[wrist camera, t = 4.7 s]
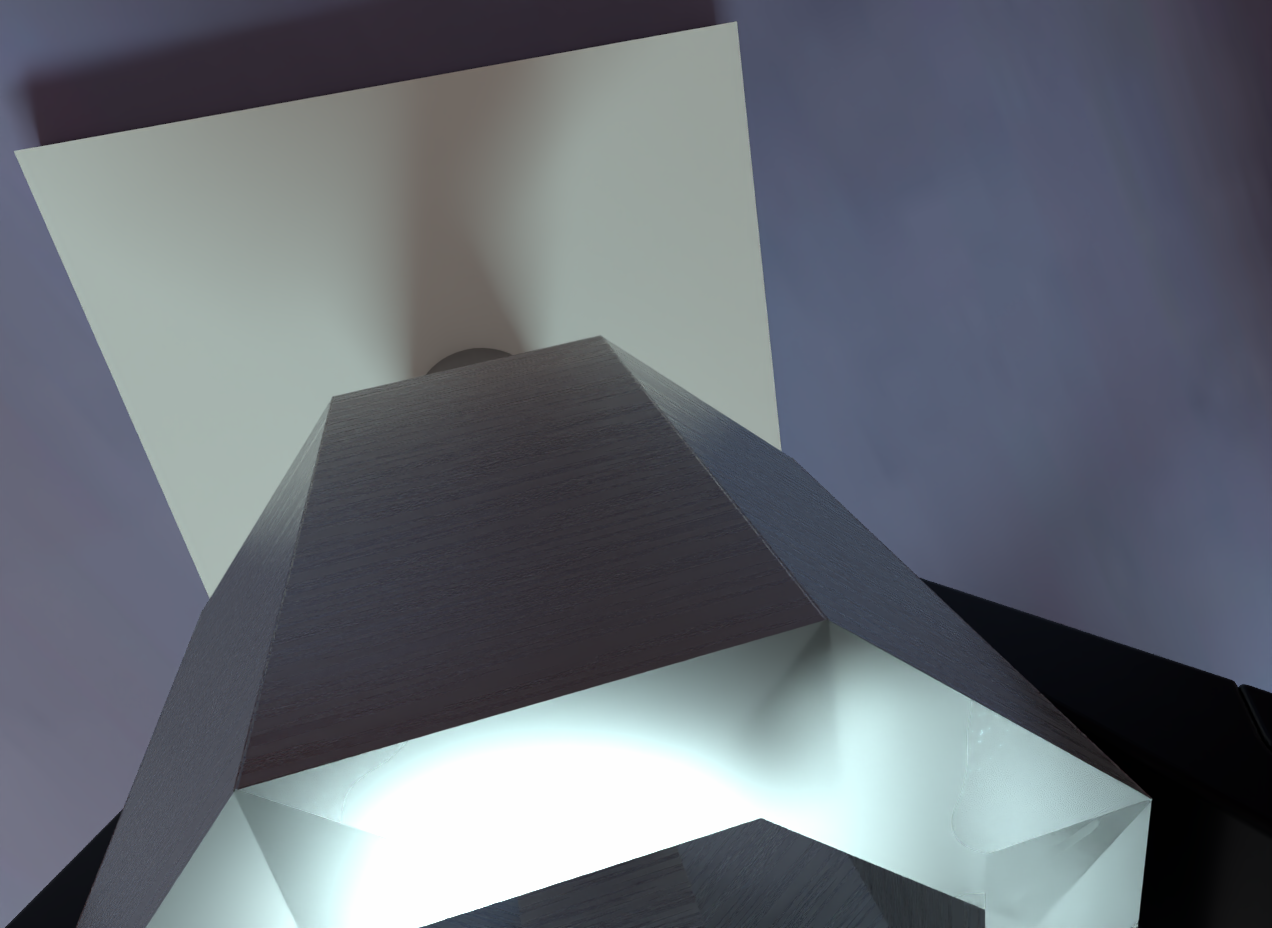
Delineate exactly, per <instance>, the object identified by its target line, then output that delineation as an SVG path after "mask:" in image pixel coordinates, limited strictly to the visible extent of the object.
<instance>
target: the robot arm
mask: <svg viewBox="0 0 1272 928" xmlns="http://www.w3.org/2000/svg"><path fill="white" fill-rule="evenodd" d="M920 579H921V580H922V581H923V582H924V583H925V584H926V585H927V586H928V587H929V588H930V589H931V590H932V591H934V592H935V593H936V594H937V595H938V596H939V597H940V598H941V599H942V600H943V601H944V602H945V603H946V604H947V605H948V606H949V607H950V608H951V609H953V610H954V611H955V612H956V613H957V614H958V615H959V616H960V617H961V618H962V619H963V620H964V621H965V622H966V623H967V624H968V625H969V626H970V627H972V628H973V629H974V630H975V631H976V632H977V633H978V634H979V635H980V636H981V637H982V638H983V639H984V640H985V641H986V642H987V643H988V644H989V645H991V646H992V647H993V648H994V649H995V650H996V651H997V652H998V653H999V654H1000V655H1001V656H1002V657H1003V658H1004V659H1005V660H1006V661H1007V662H1008V663H1010V664H1011V665H1012V666H1013V667H1014V668H1015V669H1016V670H1017V671H1018V672H1019V673H1020V674H1021V675H1022V676H1023V677H1024V678H1025V679H1026V680H1027V681H1029V682H1030V683H1031V684H1032V685H1033V686H1034V687H1035V688H1036V689H1037V690H1038V691H1039V692H1040V693H1041V694H1042V695H1043V696H1044V697H1045V698H1046V699H1048V700H1049V701H1050V702H1051V703H1052V704H1053V705H1054V706H1055V707H1056V708H1057V709H1058V710H1059V711H1060V712H1061V713H1062V714H1063V715H1064V716H1066V717H1067V718H1068V719H1069V720H1070V721H1071V722H1072V723H1073V724H1074V725H1075V726H1076V727H1077V728H1078V729H1079V730H1080V731H1081V732H1082V733H1083V734H1085V735H1086V736H1087V737H1088V738H1089V739H1090V740H1091V741H1092V742H1093V743H1094V744H1095V745H1096V746H1097V747H1098V748H1099V749H1100V750H1101V751H1102V752H1104V753H1105V754H1106V755H1107V756H1108V757H1109V758H1110V759H1111V760H1112V761H1113V762H1114V763H1115V764H1116V765H1117V766H1118V767H1119V768H1120V769H1121V770H1123V771H1124V772H1125V773H1126V774H1127V775H1128V776H1129V777H1130V778H1131V779H1132V780H1133V781H1134V782H1135V783H1136V784H1137V785H1138V786H1139V787H1140V788H1142V789H1143V790H1144V791H1145V792H1146V793H1147V794H1148V795H1149V796H1150V797H1151V798H1152V801H1151V810H1150V820H1149V829H1148V838H1147V847H1146V856H1145V866H1144V875H1143V884H1142V893H1141V903H1140V912H1139V921H1138V928H1272V693H1270V692H1267V691H1264V690H1261V689H1258V688H1255V687H1252V686H1249V685H1246V684H1242V685H1240V686H1239V687H1237V685H1236V683H1235V682H1234V681H1233V680H1230V679H1227V678H1224V677H1221V676H1218V675H1215V674H1212V673H1209V672H1206V671H1203V670H1200V669H1197V668H1194V667H1190V666H1187V665H1184V664H1181V663H1178V662H1175V661H1172V660H1169V659H1166V658H1163V657H1160V656H1157V655H1154V654H1151V653H1148V652H1145V651H1142V650H1139V649H1136V648H1133V647H1129V646H1126V645H1123V644H1120V643H1117V642H1114V641H1111V640H1108V639H1105V638H1102V637H1099V636H1096V635H1093V634H1090V633H1087V632H1084V631H1081V630H1078V629H1075V628H1071V627H1068V626H1065V625H1062V624H1059V623H1056V622H1053V621H1050V620H1047V619H1044V618H1041V617H1038V616H1035V615H1032V614H1029V613H1026V612H1023V611H1020V610H1017V609H1014V608H1010V607H1007V606H1004V605H1001V604H998V603H995V602H992V601H989V600H986V599H983V598H980V597H977V596H974V595H971V594H968V593H965V592H962V591H959V590H956V589H953V588H949V587H946V586H943V585H940V584H937V583H934V582H931V581H928V580H925V579H922V578H920ZM122 810H123V809H122ZM122 810H121V811H120V812H119V813H118V814H117V815H116V816H115V817H114V818H113V819H112V820H111V821H110V822H109V823H108V824H107V825H106V826H105V827H104V828H103V829H102V830H101V831H100V832H99V833H98V834H97V835H96V836H95V838H94V839H93V840H92V841H91V842H90V843H89V844H88V845H87V846H86V847H85V848H84V849H83V850H82V851H81V852H80V853H79V854H78V855H77V856H76V857H75V858H74V859H73V860H72V861H71V862H70V863H69V864H68V865H67V866H66V867H65V868H64V869H63V870H62V871H61V872H60V873H59V874H58V875H57V876H56V877H55V878H54V879H53V880H52V881H51V882H50V883H49V884H48V885H47V886H46V887H45V888H44V889H43V890H42V891H41V892H40V893H39V894H38V895H37V896H36V897H35V898H34V899H33V900H32V901H31V902H30V903H29V904H28V905H27V906H26V907H25V908H24V909H23V910H22V911H21V912H20V913H19V914H18V915H17V916H16V917H15V918H14V919H13V920H12V921H11V922H10V923H9V924H8V925H7V926H6V927H5V928H76V926H77V923H78V921H79V918H80V916H81V913H82V911H83V908H84V905H85V903H86V900H87V898H88V895H89V893H90V890H91V888H92V885H93V883H94V880H95V878H96V875H97V873H98V870H99V868H100V865H101V863H102V860H103V858H104V855H105V853H106V850H107V848H108V845H109V843H110V840H111V838H112V835H113V833H114V830H115V828H116V825H117V823H118V820H119V818H120V815H121V813H122Z"/></svg>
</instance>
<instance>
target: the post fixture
mask: <svg viewBox="0 0 1272 928" xmlns="http://www.w3.org/2000/svg"><path fill="white" fill-rule="evenodd" d="M14 153H15V155H16V157H17V159H18V162H19V164H20V166H21V169H22V171H23V173H24V175H25V178H26V180H27V182H28V184H29V187H30V189H31V191H32V194H33V196H34V198H35V200H36V203H37V205H38V207H39V210H40V212H41V214H42V216H43V219H44V221H45V223H46V226H47V228H48V230H49V232H50V235H51V237H52V239H53V242H54V244H55V246H56V248H57V251H58V253H59V255H60V258H61V260H62V262H63V264H64V267H65V269H66V271H67V274H68V276H69V278H70V280H71V283H72V285H73V287H74V290H75V292H76V294H77V296H78V299H79V301H80V303H81V306H82V308H83V310H84V312H85V315H86V317H87V319H88V321H89V324H90V326H91V328H92V331H93V333H94V335H95V337H96V340H97V342H98V344H99V347H100V349H101V351H102V353H103V356H104V358H105V360H106V363H107V365H108V367H109V369H110V372H111V374H112V376H113V379H114V381H115V383H116V385H117V388H118V390H119V392H120V395H121V397H122V399H123V401H124V404H125V406H126V408H127V411H128V413H129V415H130V417H131V420H132V422H133V424H134V427H135V429H136V431H137V433H138V436H139V438H140V440H141V443H142V445H143V447H144V449H145V452H146V454H147V456H148V458H149V461H150V463H151V465H152V468H153V470H154V472H155V474H156V477H157V479H158V481H159V484H160V486H161V488H162V490H163V493H164V495H165V497H166V500H167V502H168V504H169V506H170V509H171V511H172V513H173V516H174V518H175V520H176V522H177V525H178V527H179V529H180V532H181V534H182V536H183V538H184V541H185V543H186V545H187V548H188V550H189V552H190V554H191V557H192V559H193V561H194V564H195V566H196V568H197V570H198V573H199V575H200V577H201V579H202V582H203V584H204V586H205V589H206V591H207V593H208V595H209V598H210V597H211V596H212V594H213V593H214V591H215V589H216V588H217V586H218V584H219V583H220V581H221V579H222V578H223V576H224V574H225V573H226V571H227V570H228V568H229V566H230V565H231V563H232V561H233V560H234V558H235V556H236V555H237V553H238V551H239V550H240V548H241V547H242V545H243V543H244V542H245V540H246V538H247V537H248V535H249V533H250V532H251V530H252V528H253V527H254V525H255V524H256V522H257V520H258V519H259V517H260V515H261V514H262V512H263V510H264V509H265V507H266V505H267V504H268V502H269V500H270V499H271V497H272V496H273V494H274V492H275V491H276V489H277V487H278V486H279V484H280V482H281V481H282V479H283V477H284V476H285V474H286V473H287V471H288V469H289V468H290V466H291V464H292V463H293V461H294V459H295V458H296V456H297V454H298V453H299V451H300V450H301V448H302V446H303V445H304V443H305V441H306V440H307V438H308V436H309V435H310V433H311V431H312V430H313V428H314V427H315V425H316V423H317V422H318V420H319V418H320V417H321V415H322V413H323V412H324V410H325V408H326V407H327V405H328V403H329V402H330V400H331V399H332V397H333V396H337V395H341V394H346V393H350V392H354V391H359V390H363V389H367V388H372V387H376V386H381V385H385V384H389V383H394V382H398V381H402V380H407V379H411V378H416V377H420V376H424V375H429V374H433V373H437V372H442V371H446V370H450V369H455V368H459V367H464V366H468V365H472V364H477V363H481V362H485V361H490V360H494V359H499V358H503V357H507V356H512V355H516V354H520V353H525V352H529V351H533V350H538V349H542V348H547V347H551V346H555V345H560V344H564V343H568V342H573V341H577V340H582V339H586V338H590V337H595V336H599V335H602V336H603V337H604V338H606V339H607V340H609V341H610V342H612V343H613V344H615V345H617V346H618V347H620V348H621V349H623V350H624V351H626V352H627V353H629V354H631V355H632V356H634V357H635V358H637V359H638V360H640V361H642V362H643V363H645V364H646V365H648V366H649V367H651V368H652V369H654V370H656V371H657V372H659V373H660V374H662V375H663V376H665V377H666V378H668V379H670V380H671V381H673V382H674V383H676V384H677V385H679V386H680V387H682V388H684V389H685V390H687V391H688V392H690V393H691V394H693V395H694V396H696V397H698V398H699V399H701V400H702V401H704V402H705V403H707V404H709V405H710V406H712V407H713V408H715V409H716V410H718V411H719V412H721V413H723V414H724V415H726V416H727V417H729V418H730V419H732V420H733V421H735V422H737V423H738V424H740V425H741V426H743V427H744V428H746V429H747V430H749V431H751V432H752V433H754V434H755V435H757V436H758V437H760V438H762V439H763V440H765V441H766V442H768V443H769V444H771V445H772V446H774V447H776V448H777V449H779V450H780V451H781V443H780V433H779V423H778V414H777V404H776V394H775V385H774V375H773V365H772V356H771V346H770V336H769V327H768V317H767V308H766V298H765V288H764V279H763V269H762V259H761V250H760V240H759V230H758V221H757V211H756V201H755V192H754V182H753V173H752V163H751V153H750V144H749V134H748V124H747V115H746V105H745V95H744V86H743V76H742V66H741V57H740V47H739V38H738V28H737V21H736V22H731V23H725V24H720V25H714V26H708V27H703V28H697V29H692V30H686V31H681V32H675V33H669V34H664V35H658V36H653V37H647V38H642V39H636V40H630V41H625V42H619V43H614V44H608V45H603V46H597V47H591V48H586V49H580V50H575V51H569V52H564V53H558V54H552V55H547V56H541V57H536V58H530V59H525V60H519V61H513V62H508V63H502V64H497V65H491V66H486V67H480V68H474V69H469V70H463V71H458V72H452V73H447V74H441V75H435V76H430V77H424V78H419V79H413V80H408V81H402V82H397V83H391V84H385V85H380V86H374V87H369V88H363V89H358V90H352V91H346V92H341V93H335V94H330V95H324V96H319V97H313V98H307V99H302V100H296V101H291V102H285V103H280V104H274V105H268V106H263V107H257V108H252V109H246V110H241V111H235V112H229V113H224V114H218V115H213V116H207V117H202V118H196V119H190V120H185V121H179V122H174V123H168V124H163V125H157V126H151V127H146V128H140V129H135V130H129V131H124V132H118V133H112V134H107V135H101V136H96V137H90V138H85V139H79V140H73V141H68V142H62V143H57V144H51V145H46V146H40V147H34V148H29V149H23V150H18V151H14Z"/></svg>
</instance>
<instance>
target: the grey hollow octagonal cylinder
mask: <svg viewBox="0 0 1272 928" xmlns="http://www.w3.org/2000/svg"><path fill="white" fill-rule="evenodd" d="M1151 801H1152V798H1151V797H1150V796H1149V795H1148V794H1147V793H1146V792H1145V791H1144V790H1143V789H1142V788H1140V787H1139V786H1138V785H1137V784H1136V783H1135V782H1134V781H1133V780H1132V779H1131V778H1130V777H1129V776H1128V775H1127V774H1126V773H1125V772H1124V771H1123V770H1121V769H1120V768H1119V767H1118V766H1117V765H1116V764H1115V763H1114V762H1113V761H1112V760H1111V759H1110V758H1109V757H1108V756H1107V755H1106V754H1105V753H1104V752H1102V751H1101V750H1100V749H1099V748H1098V747H1097V746H1096V745H1095V744H1094V743H1093V742H1092V741H1091V740H1090V739H1089V738H1088V737H1087V736H1086V735H1085V734H1083V733H1082V732H1081V731H1080V730H1079V729H1078V728H1077V727H1076V726H1075V725H1074V724H1073V723H1072V722H1071V721H1070V720H1069V719H1068V718H1067V717H1066V716H1064V715H1063V714H1062V713H1061V712H1060V711H1059V710H1058V709H1057V708H1056V707H1055V706H1054V705H1053V704H1052V703H1051V702H1050V701H1049V700H1048V699H1046V698H1045V697H1044V696H1043V695H1042V694H1041V693H1040V692H1039V691H1038V690H1037V689H1036V688H1035V687H1034V686H1033V685H1032V684H1031V683H1030V682H1029V681H1027V680H1026V679H1025V678H1024V677H1023V676H1022V675H1021V674H1020V673H1019V672H1018V671H1017V670H1016V669H1015V668H1014V667H1013V666H1012V665H1011V664H1010V663H1008V662H1007V661H1006V660H1005V659H1004V658H1003V657H1002V656H1001V655H1000V654H999V653H998V652H997V651H996V650H995V649H994V648H993V647H992V646H991V645H989V644H988V643H987V642H986V641H985V640H984V639H983V638H982V637H981V636H980V635H979V634H978V633H977V632H976V631H975V630H974V629H973V628H972V627H970V626H969V625H968V624H967V623H966V622H965V621H964V620H963V619H962V618H961V617H960V616H959V615H958V614H957V613H956V612H955V611H954V610H953V609H951V608H950V607H949V606H948V605H947V604H946V603H945V602H944V601H943V600H942V599H941V598H940V597H939V596H938V595H937V594H936V593H935V592H934V591H932V590H931V589H930V588H929V587H928V586H927V585H926V584H925V583H924V582H923V581H922V580H921V579H920V578H919V577H918V576H917V575H916V574H915V573H913V572H912V571H911V570H910V569H909V568H908V567H907V566H906V565H905V564H904V563H903V562H902V561H901V560H900V559H899V558H898V557H897V556H895V555H894V554H893V553H892V552H891V551H890V550H889V549H888V548H887V547H886V546H885V545H884V544H883V543H882V542H881V541H880V540H879V539H878V538H876V537H875V536H874V535H873V534H872V533H871V532H870V531H869V530H868V529H867V528H866V527H865V526H864V525H863V524H862V523H861V522H860V521H859V520H857V519H856V518H855V517H854V516H853V515H852V514H851V513H850V512H849V511H848V510H847V509H846V508H845V507H844V506H843V505H842V504H841V503H840V502H838V501H837V500H836V499H835V498H834V497H833V496H832V495H831V494H830V493H829V492H828V491H827V490H826V489H825V488H824V487H823V486H822V485H821V484H819V483H818V482H817V481H816V480H815V479H814V478H813V477H812V476H811V475H810V474H809V473H808V472H807V471H806V470H805V469H804V468H803V467H802V466H800V465H799V464H798V463H797V462H796V461H795V460H794V459H793V458H791V457H790V456H788V455H786V454H785V453H783V452H782V451H780V450H779V449H777V448H776V447H774V446H772V445H771V444H769V443H768V442H766V441H765V440H763V439H762V438H760V437H758V436H757V435H755V434H754V433H752V432H751V431H749V430H747V429H746V428H744V427H743V426H741V425H740V424H738V423H737V422H735V421H733V420H732V419H730V418H729V417H727V416H726V415H724V414H723V413H721V412H719V411H718V410H716V409H715V408H713V407H712V406H710V405H709V404H707V403H705V402H704V401H702V400H701V399H699V398H698V397H696V396H694V395H693V394H691V393H690V392H688V391H687V390H685V389H684V388H682V387H680V386H679V385H677V384H676V383H674V382H673V381H671V380H670V379H668V378H666V377H665V376H663V375H662V374H660V373H659V372H657V371H656V370H654V369H652V368H651V367H649V366H648V365H646V364H645V363H643V362H642V361H640V360H638V359H637V358H635V357H634V356H632V355H631V354H629V353H627V352H626V351H624V350H623V349H621V348H620V347H618V346H617V345H615V344H613V343H612V342H610V341H609V340H607V339H606V338H604V337H603V336H602V335H599V336H595V337H590V338H586V339H582V340H577V341H573V342H568V343H564V344H560V345H555V346H551V347H547V348H542V349H538V350H533V351H529V352H525V353H520V354H516V355H512V356H507V357H503V358H499V359H494V360H490V361H485V362H481V363H477V364H472V365H468V366H464V367H459V368H455V369H450V370H446V371H442V372H437V373H433V374H429V375H424V376H420V377H416V378H411V379H407V380H402V381H398V382H394V383H389V384H385V385H381V386H376V387H372V388H367V389H363V390H359V391H354V392H350V393H346V394H341V395H337V396H333V397H332V399H331V400H330V402H329V403H328V405H327V407H326V408H325V410H324V412H323V413H322V415H321V417H320V418H319V420H318V422H317V423H316V425H315V427H314V428H313V430H312V431H311V433H310V435H309V436H308V438H307V440H306V441H305V443H304V445H303V446H302V448H301V450H300V451H299V453H298V454H297V456H296V458H295V459H294V461H293V463H292V464H291V466H290V468H289V469H288V471H287V473H286V474H285V476H284V477H283V479H282V481H281V482H280V484H279V486H278V487H277V489H276V491H275V492H274V494H273V496H272V497H271V499H270V500H269V502H268V504H267V505H266V507H265V509H264V510H263V512H262V514H261V515H260V517H259V519H258V520H257V522H256V524H255V525H254V527H253V528H252V530H251V532H250V533H249V535H248V537H247V538H246V540H245V542H244V543H243V545H242V547H241V548H240V550H239V551H238V553H237V555H236V556H235V558H234V560H233V561H232V563H231V565H230V566H229V568H228V570H227V571H226V573H225V574H224V576H223V578H222V579H221V581H220V583H219V584H218V586H217V588H216V589H215V591H214V593H213V594H212V596H211V597H210V599H209V601H208V602H207V604H206V606H205V607H204V609H203V610H202V612H201V614H200V617H199V619H198V622H197V625H196V627H195V630H194V632H193V635H192V637H191V640H190V642H189V645H188V647H187V650H186V652H185V655H184V657H183V660H182V662H181V665H180V667H179V670H178V672H177V675H176V677H175V680H174V682H173V685H172V687H171V690H170V692H169V695H168V697H167V700H166V702H165V705H164V707H163V710H162V712H161V715H160V717H159V720H158V722H157V725H156V727H155V730H154V732H153V735H152V737H151V740H150V742H149V745H148V747H147V750H146V752H145V755H144V757H143V760H142V762H141V765H140V768H139V770H138V773H137V775H136V778H135V780H134V783H133V785H132V788H131V790H130V793H129V795H128V798H127V800H126V803H125V805H124V808H123V810H122V813H121V815H120V818H119V820H118V823H117V825H116V828H115V830H114V833H113V835H112V838H111V840H110V843H109V845H108V848H107V850H106V853H105V855H104V858H103V860H102V863H101V865H100V868H99V870H98V873H97V875H96V878H95V880H94V883H93V885H92V888H91V890H90V893H89V895H88V898H87V900H86V903H85V905H84V908H83V911H82V913H81V916H80V918H79V921H78V923H77V926H76V928H1138V921H1139V912H1140V903H1141V893H1142V884H1143V875H1144V866H1145V856H1146V847H1147V838H1148V829H1149V820H1150V810H1151Z"/></svg>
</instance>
